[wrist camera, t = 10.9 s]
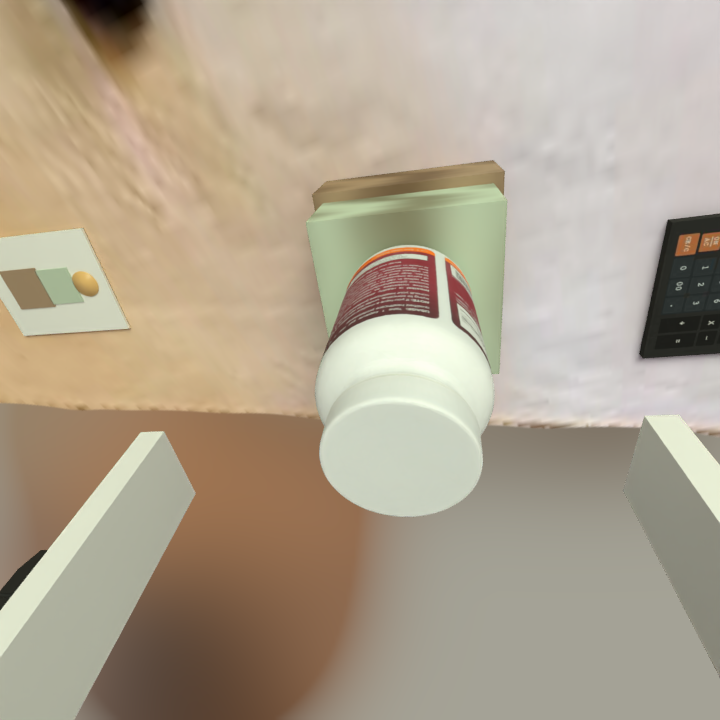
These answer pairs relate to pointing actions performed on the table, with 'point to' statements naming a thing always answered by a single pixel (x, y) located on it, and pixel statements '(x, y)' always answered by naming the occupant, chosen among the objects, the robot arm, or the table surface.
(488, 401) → the pill bottle
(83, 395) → the table surface
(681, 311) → the calculator
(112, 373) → the table surface
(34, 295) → the page
